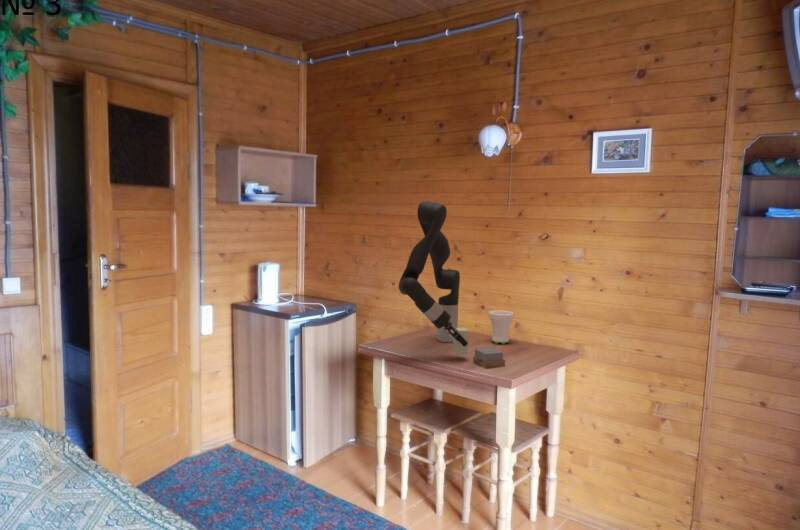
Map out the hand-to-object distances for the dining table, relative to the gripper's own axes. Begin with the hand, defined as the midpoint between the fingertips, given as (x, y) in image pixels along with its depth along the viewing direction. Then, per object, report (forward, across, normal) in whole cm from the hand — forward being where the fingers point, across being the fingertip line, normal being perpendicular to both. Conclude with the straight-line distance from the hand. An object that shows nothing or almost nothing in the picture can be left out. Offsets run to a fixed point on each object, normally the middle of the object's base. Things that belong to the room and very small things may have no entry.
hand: (464, 343), depth 237 cm
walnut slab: (+11, -8, -1) cm, 14 cm away
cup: (+21, +28, -10) cm, 36 cm away
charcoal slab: (+9, -8, -3) cm, 12 cm away
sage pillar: (+2, 0, +4) cm, 5 cm away
